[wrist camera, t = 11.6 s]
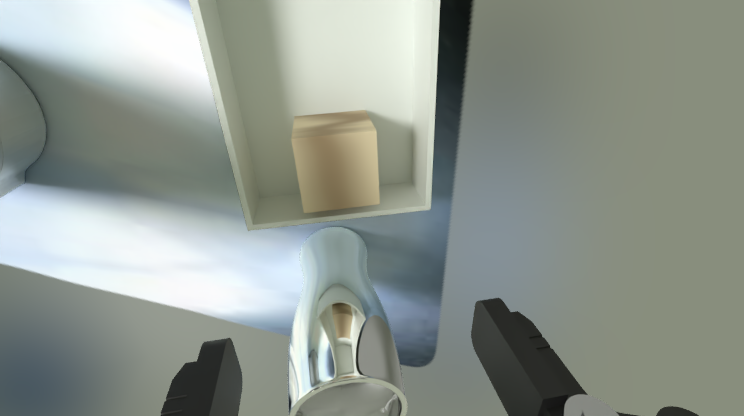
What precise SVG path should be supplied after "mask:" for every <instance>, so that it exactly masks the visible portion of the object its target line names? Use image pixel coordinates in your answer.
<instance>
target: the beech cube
mask: <svg viewBox="0 0 744 416" xmlns="http://www.w3.org/2000/svg"><path fill="white" fill-rule="evenodd" d="M291 141H292V147H293V152H294V158H295V164H296V170H297V176H298V182H299V188H300V194H301V199H302V205H303V211H304V213H311V212H319V211H328V210H336V209H344V208H353V207H361V206H369V205H378V204H380V195H379V174H378V152H377V131H376V129H375V127H374V125H373V123H372V121H371V120H370V118H369V116H368V114H367V112H366V110H359V111H348V112H337V113H326V114H315V115H304V116H294V123H293V130H292V137H291Z"/></svg>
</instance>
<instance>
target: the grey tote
mask: <svg viewBox="0 0 744 416" xmlns="http://www.w3.org/2000/svg"><path fill="white" fill-rule="evenodd" d="M189 2H190V6H191V10H192V14H193V18H194V22H195V25H196V29H197V33H198V37H199V41H200V45H201V49H202V53H203V57H204V61H205V65H206V68H207V72H208V76H209V80H210V84H211V88H212V92H213V96H214V100H215V104H216V108H217V111H218V115H219V119H220V123H221V127H222V131H223V135H224V139H225V143H226V147H227V150H228V154H229V158H230V162H231V166H232V170H233V174H234V178H235V182H236V186H237V190H238V193H239V197H240V201H241V205H242V209H243V213H244V217H245V221H246V225H247V229H248V231H250V230H259V229H267V228H276V227H285V226H294V225H302V224H311V223H320V222H328V221H337V220H346V219H354V218H363V217H372V216H381V215H389V214H398V213H407V212H415V211H424V210H431V193H432V171H433V149H434V127H435V105H436V82H437V60H438V38H439V16H440V0H189ZM359 110H366V112H367V114H368V116H369V118H370V120H371V121H372V123H373V125H374V127H375V129H376V131H377V152H378V174H379V195H380V204H378V205H369V206H361V207H353V208H344V209H336V210H328V211H319V212H311V213H304V211H303V205H302V199H301V194H300V188H299V182H298V176H297V170H296V164H295V158H294V152H293V147H292V141H291V137H292V130H293V123H294V116H304V115H315V114H326V113H337V112H348V111H359Z"/></svg>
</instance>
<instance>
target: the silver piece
mask: <svg viewBox="0 0 744 416" xmlns="http://www.w3.org/2000/svg"><path fill="white" fill-rule="evenodd" d="M299 259H300V265H301V269H302V273H303V287H302V291H301V295H300V298H299V302H298V305H297V309H296V312H295V316H294V320H293V324H292V329H291V334H290V342H289V351H288V374H287V377H288V407H289V416H406V413H407V400H406V397H405V392H404V385H403V379H402V372H401V366H400V360H399V355H398V350H397V346H396V341H395V338H394V334H393V331H392V328H391V324H390V322H389V319H388V317H387V314H386V312H385V310H384V307H383V305H382V303H381V301H380V299H379V297H378V295H377V293H376V291H375V289H374V288H373V286H372V284H371V281H370V279H369V277H368V274H367V248H366V245H365V243H364V241H363V239H362V238H361V237H360V236H359V235H358V234H357V233H355V232H354V231H352V230H350V229H347V228H343V227H327V228H323V229H320V230H318V231H316V232H314V233H313V234H311V235H310V236H309V237H308V238H307V239H306V240H305V241H304V243H303V244H302V247H301V249H300V254H299Z"/></svg>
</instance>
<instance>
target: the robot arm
mask: <svg viewBox="0 0 744 416" xmlns="http://www.w3.org/2000/svg"><path fill="white" fill-rule="evenodd" d="M45 140H46V123H45V120H44V117H43V113H42V110H41V107H40V106H39V104H38V102H37V100H36V98H35V97H34V95H33V93H32V92H31V90H30V89H29V88H28V87H27V85H26V84H25V83H24V81H23V80H22V79H21V78H20V77H19V76H18V75H17V74H16V73H15V72H14V71H13V70H12V69H11V68H10V67H9V66H8V65H6V64H5V63H4V62H3V61H1V60H0V198H1V197H3V196H4V195H6V194H7V193H9V192H11V191H12V190H14V189H16V188H17V187H19V186H21V185H22V184H24V183H25V170H26V169H27V168H28V167H29V166H30V165H31V164H32V163H34V162H35V161H36V160H37V159H38V157H39V156H40V154H41V152H42V151H43V149H44V145H45ZM471 338H472V343H473V347H474V349H475V352H476V354H477V356H478V358H479V360H480V362H481V363H482V365H483V367H484V369H485V371H486V373H487V375H488V377H489V379H490V381H491V383H492V385H493V387H494V389H495V390H496V392H497V394H498V396H499V398H500V400H501V402H502V404H503V406H504V408H505V410H506V411H507V414H508V415H509V416H637V415H630V414H623V413H618V412H616V411H615V410H613V408H611V407H610V406H609V405H608V404H606V403H605V402H603V401H602V400H600V399H598V398H595V397H593V396H589V395H588V394H587V393H586V392H585V391H584V390H583V389H582V387H581V386H580V385H579V384H578V382H577V381H576V379H575V378H574V377H573V376H572V374H571V373H570V372H569V370H568V369H567V368H566V367H565V365H564V364H563V362H562V361H561V360H560V358H559V357H558V356H557V354H556V353H555V352H554V350H553V349H551V348H550V345H549V344H548V342H547V341H546V340H545V338H543V337H542V334H541V333H540V332H539V330H538V329H537V328H536V326H535V325H534V324H533V323H532V322H531V321H530V320H529V319H527V318H526V317H525V316H523V315H522V314H521V313H519V312H518V311H517V312H510V311H509V309H508V308H507V306H506V305H505V303H504V302H503V301H502V300H501V299H500V298H495V299H488V300H482V301H477V302H476V304H475V311H474V317H473V324H472V331H471ZM241 392H242V372H241V368H240V365H239V361H238V358H237V355H236V352H235V349H234V345H233V342H232V340H231V339H230V338H227V339H221V340H214V341H207V342H204V343H203V344H202V347H201V350H200V353H199V356H198V360H197V362H190V363H185V365H184V366H183V367H182V368H181V370H180V371H179V372H178V373H177V375H176V376H175V377H174V379H173V380H172V383H171V386H170V389H169V391H168V394H167V397H166V401H165V403H164V405H163V408H162V411H161V416H238V411H239V405H240V399H241ZM656 416H698V415H697V414H695V413H693V412H691V411H689V410H686V409H683V408H679V407H673V406H672V407H664V408H662V409H660V411H659V412H658V413H657V415H656Z"/></svg>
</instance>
